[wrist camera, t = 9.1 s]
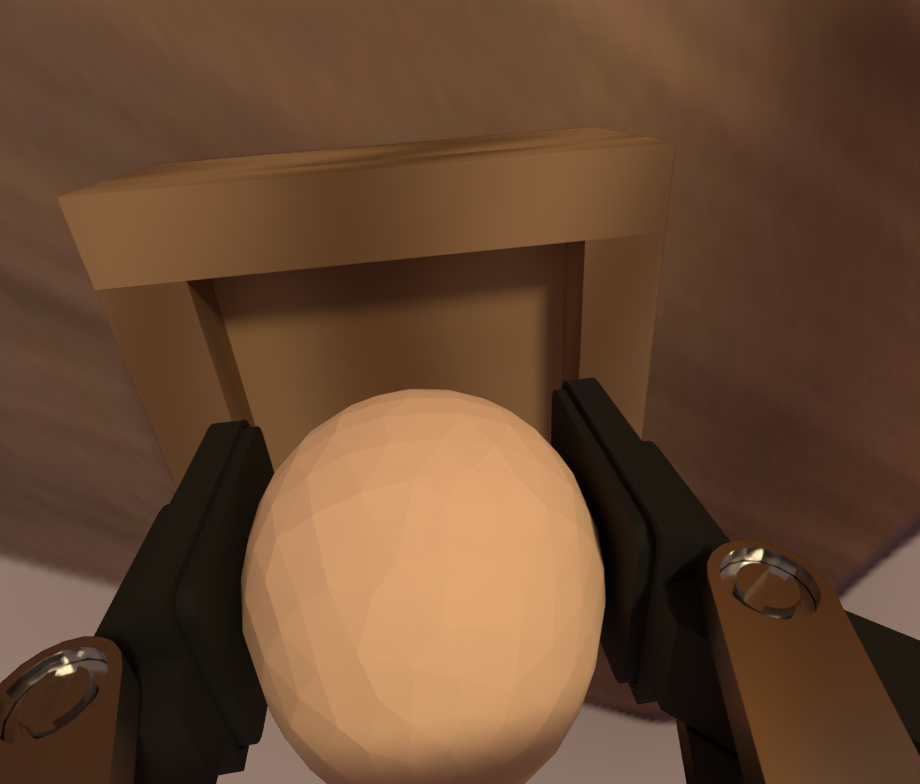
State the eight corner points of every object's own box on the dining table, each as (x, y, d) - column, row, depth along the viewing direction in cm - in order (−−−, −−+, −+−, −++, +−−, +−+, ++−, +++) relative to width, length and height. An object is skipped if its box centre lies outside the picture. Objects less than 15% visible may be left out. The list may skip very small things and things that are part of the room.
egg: (469, 278, 9) (583, 531, 4) (584, 482, 11) (749, 805, 6) (218, 423, 10) (32, 799, 5) (377, 586, 12) (372, 951, 7)
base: (592, 126, 13) (676, 142, 9) (576, 467, 18) (626, 564, 14) (154, 164, 12) (56, 197, 8) (264, 508, 17) (232, 622, 13)
